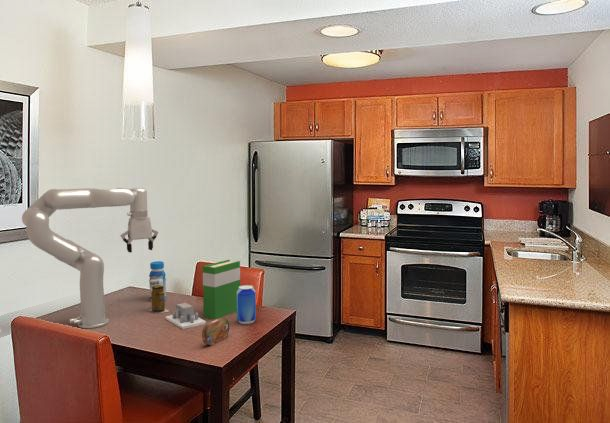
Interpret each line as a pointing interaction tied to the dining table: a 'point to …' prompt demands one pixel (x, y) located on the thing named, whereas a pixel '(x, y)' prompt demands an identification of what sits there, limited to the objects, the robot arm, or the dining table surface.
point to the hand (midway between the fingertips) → (140, 250)
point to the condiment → (158, 300)
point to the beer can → (246, 304)
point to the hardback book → (220, 288)
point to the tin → (215, 331)
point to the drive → (184, 311)
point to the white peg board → (184, 325)
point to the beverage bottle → (157, 276)
